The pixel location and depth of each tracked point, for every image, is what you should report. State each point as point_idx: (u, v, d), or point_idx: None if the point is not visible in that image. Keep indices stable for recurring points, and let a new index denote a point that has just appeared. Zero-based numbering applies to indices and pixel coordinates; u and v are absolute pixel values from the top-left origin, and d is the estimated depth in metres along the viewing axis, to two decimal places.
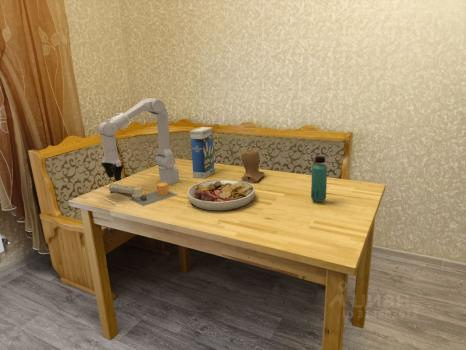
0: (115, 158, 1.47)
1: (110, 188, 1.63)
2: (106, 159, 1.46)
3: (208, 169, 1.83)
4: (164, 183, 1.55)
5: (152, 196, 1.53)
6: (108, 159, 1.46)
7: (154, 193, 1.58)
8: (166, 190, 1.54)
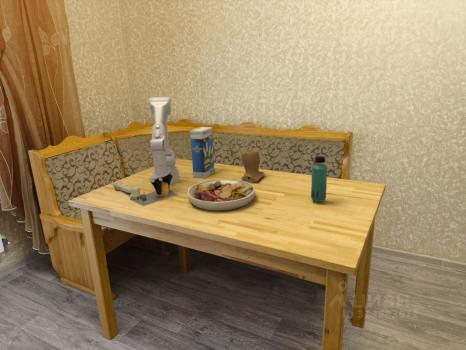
0: (158, 173, 1.51)
1: (114, 186, 1.67)
2: None
3: (208, 169, 1.83)
4: (164, 183, 1.55)
5: (152, 196, 1.53)
6: (154, 172, 1.53)
7: (154, 193, 1.58)
8: (166, 190, 1.54)
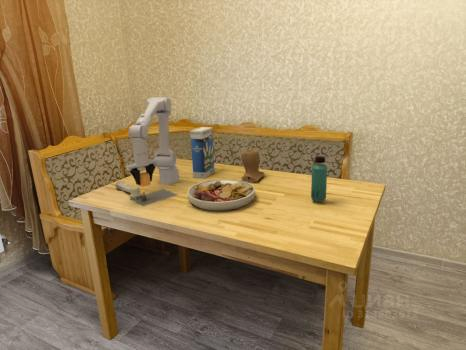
0: (137, 162, 1.43)
1: (116, 185, 1.68)
2: None
3: (208, 169, 1.83)
4: (145, 174, 1.46)
5: (152, 196, 1.53)
6: None
7: (154, 193, 1.58)
8: (146, 181, 1.46)
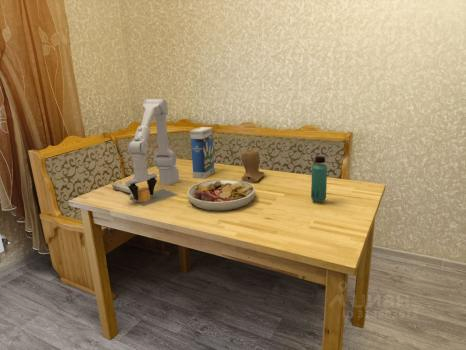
0: (136, 178, 1.44)
1: (113, 186, 1.67)
2: None
3: (208, 169, 1.83)
4: (145, 189, 1.48)
5: (152, 196, 1.53)
6: None
7: (154, 193, 1.58)
8: (145, 196, 1.47)
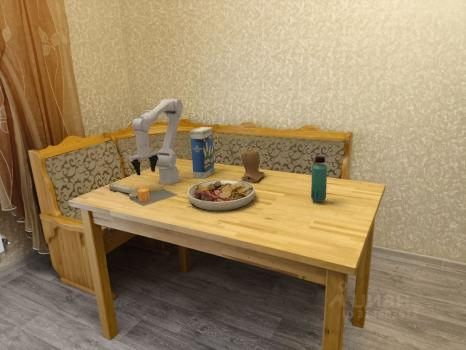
0: (139, 154, 1.52)
1: (110, 186, 1.67)
2: None
3: (208, 169, 1.83)
4: (145, 189, 1.48)
5: (152, 196, 1.53)
6: None
7: (154, 193, 1.58)
8: (145, 196, 1.47)
